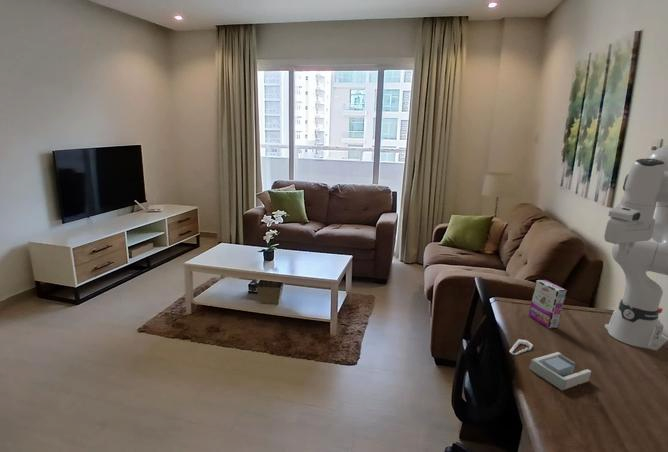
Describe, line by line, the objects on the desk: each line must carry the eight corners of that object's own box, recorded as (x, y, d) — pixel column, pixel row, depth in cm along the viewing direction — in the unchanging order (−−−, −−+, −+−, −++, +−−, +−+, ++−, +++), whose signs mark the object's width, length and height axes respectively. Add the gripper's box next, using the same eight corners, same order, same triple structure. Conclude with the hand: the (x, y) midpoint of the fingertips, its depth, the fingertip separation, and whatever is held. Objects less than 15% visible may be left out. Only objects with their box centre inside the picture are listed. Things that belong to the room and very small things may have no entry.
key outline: (522, 361, 136) (523, 357, 136) (507, 355, 139) (508, 351, 139) (534, 345, 146) (534, 341, 145) (519, 340, 149) (520, 336, 148)
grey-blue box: (556, 369, 132) (560, 354, 130) (571, 378, 127) (575, 362, 126) (540, 374, 128) (544, 358, 127) (555, 383, 124) (559, 367, 122)
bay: (555, 360, 136) (557, 351, 135) (588, 380, 126) (591, 371, 126) (529, 368, 130) (531, 359, 129) (561, 390, 121) (564, 380, 120)
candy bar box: (558, 328, 160) (567, 290, 156) (548, 329, 158) (557, 290, 154) (537, 315, 170) (545, 279, 166) (527, 315, 169) (535, 279, 164)
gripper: (642, 209, 130) (631, 249, 134) (605, 210, 121) (594, 254, 125) (665, 213, 125) (652, 255, 129) (628, 215, 116) (615, 260, 119)
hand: (623, 254), depth 127 cm, fingers closed
